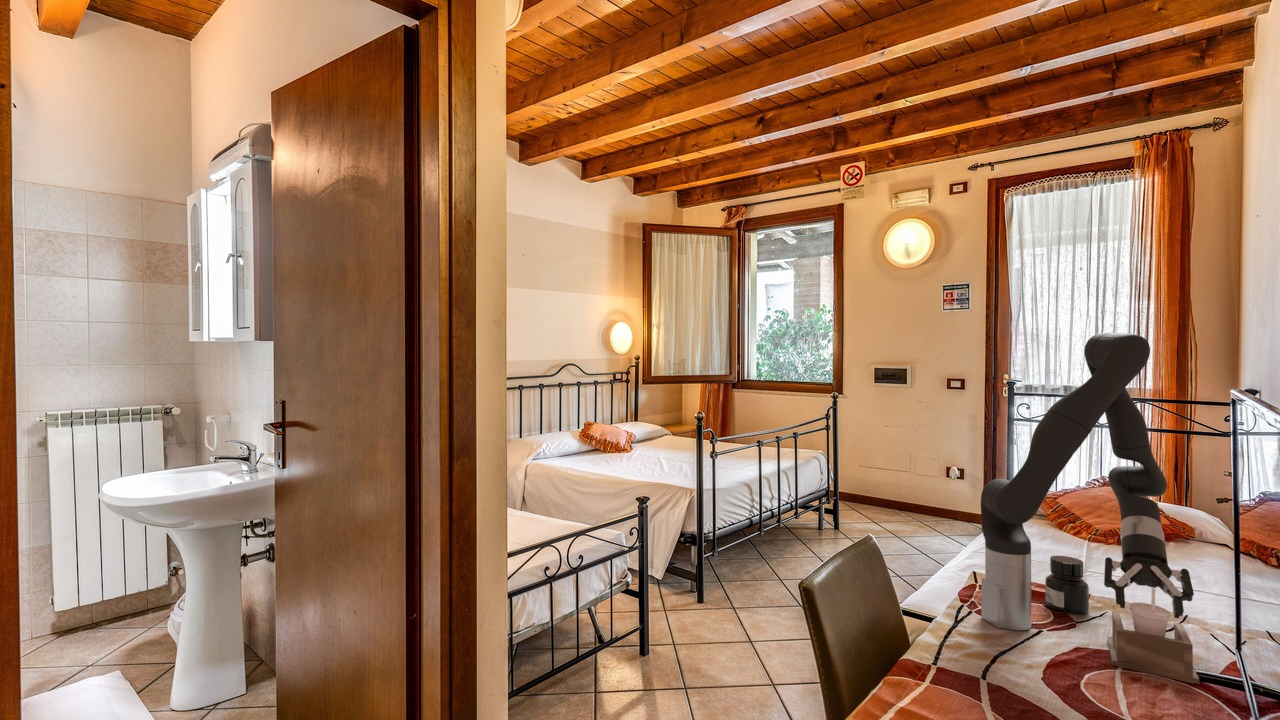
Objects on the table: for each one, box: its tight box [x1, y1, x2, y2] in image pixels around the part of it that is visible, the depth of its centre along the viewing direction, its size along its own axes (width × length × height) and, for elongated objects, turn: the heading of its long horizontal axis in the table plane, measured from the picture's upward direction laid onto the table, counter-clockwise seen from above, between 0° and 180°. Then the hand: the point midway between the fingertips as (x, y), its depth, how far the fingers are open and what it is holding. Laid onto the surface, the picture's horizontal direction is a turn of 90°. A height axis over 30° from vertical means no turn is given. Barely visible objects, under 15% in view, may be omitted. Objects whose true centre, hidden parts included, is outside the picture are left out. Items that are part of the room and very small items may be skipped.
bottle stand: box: [1107, 610, 1200, 685], centre depth 123 cm, size 13×13×7 cm
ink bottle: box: [1044, 555, 1090, 615], centre depth 150 cm, size 10×9×12 cm
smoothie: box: [1129, 587, 1171, 637], centre depth 123 cm, size 6×6×14 cm
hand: (1149, 611), depth 123 cm, fingers open, 8 cm apart
